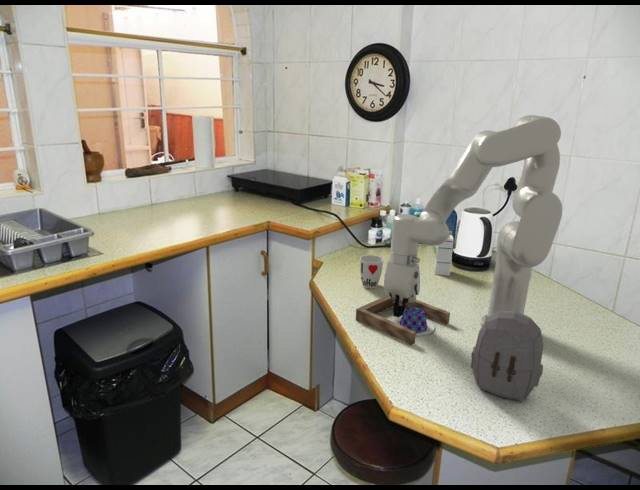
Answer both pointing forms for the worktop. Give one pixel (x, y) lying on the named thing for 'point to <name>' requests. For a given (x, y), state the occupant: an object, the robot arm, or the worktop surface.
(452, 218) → the blue food package
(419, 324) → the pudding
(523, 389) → the small grey backpack
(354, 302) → the worktop surface
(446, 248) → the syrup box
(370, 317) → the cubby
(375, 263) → the cup
